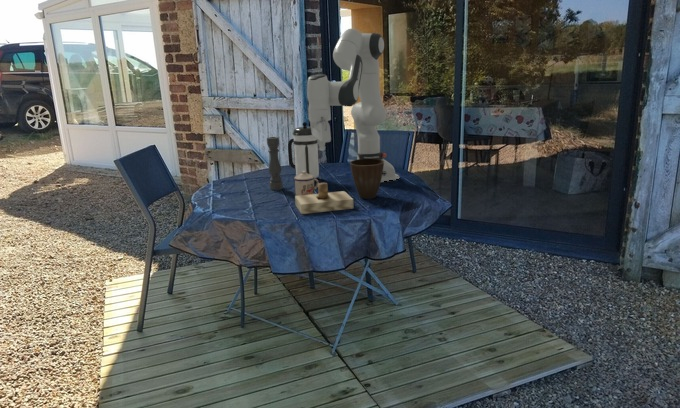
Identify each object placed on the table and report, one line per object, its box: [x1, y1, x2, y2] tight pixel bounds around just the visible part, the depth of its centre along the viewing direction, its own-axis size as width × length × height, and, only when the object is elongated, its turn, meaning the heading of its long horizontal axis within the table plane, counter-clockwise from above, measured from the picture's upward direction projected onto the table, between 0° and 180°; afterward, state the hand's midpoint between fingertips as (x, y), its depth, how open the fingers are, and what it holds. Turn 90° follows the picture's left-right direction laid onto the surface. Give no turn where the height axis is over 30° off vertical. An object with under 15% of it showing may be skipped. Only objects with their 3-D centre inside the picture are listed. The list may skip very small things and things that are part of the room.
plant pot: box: [349, 159, 384, 200], centre depth 217 cm, size 15×15×16 cm
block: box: [294, 190, 354, 215], centre depth 206 cm, size 22×14×4 cm, turn 105°
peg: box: [317, 182, 329, 200], centre depth 205 cm, size 4×4×10 cm
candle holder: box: [266, 136, 284, 191], centre depth 236 cm, size 6×6×25 cm
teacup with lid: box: [293, 171, 320, 196], centre depth 223 cm, size 12×9×12 cm
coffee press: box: [287, 121, 323, 182], centre depth 251 cm, size 17×16×30 cm
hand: (321, 150), depth 200 cm, fingers closed
